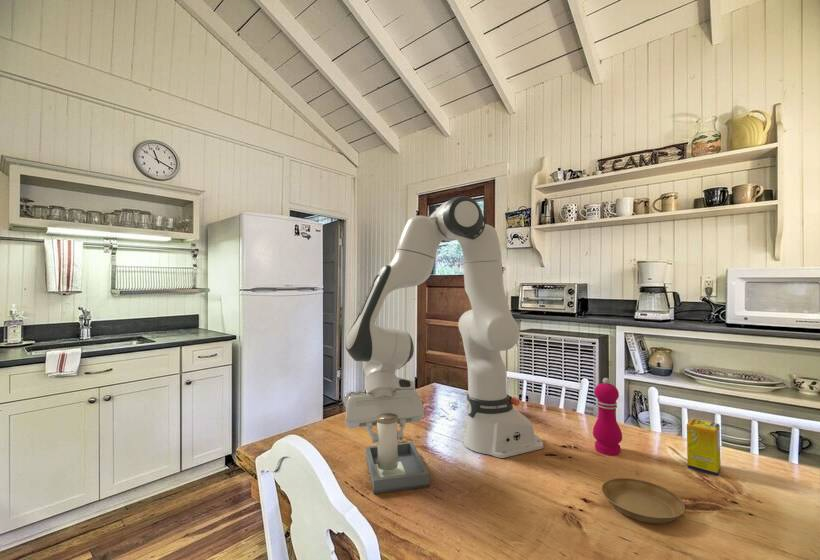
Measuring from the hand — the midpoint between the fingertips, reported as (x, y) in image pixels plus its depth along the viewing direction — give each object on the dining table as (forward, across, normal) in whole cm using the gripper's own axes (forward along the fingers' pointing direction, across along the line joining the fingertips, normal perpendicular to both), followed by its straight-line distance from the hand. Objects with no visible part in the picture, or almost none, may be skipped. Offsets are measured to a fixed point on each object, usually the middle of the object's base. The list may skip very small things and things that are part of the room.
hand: (387, 440), depth 93 cm
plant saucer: (+24, +49, -12) cm, 56 cm away
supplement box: (+17, +77, -5) cm, 79 cm away
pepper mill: (+7, +61, +5) cm, 62 cm away
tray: (+5, +2, +7) cm, 9 cm away
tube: (+4, 0, +5) cm, 6 cm away
